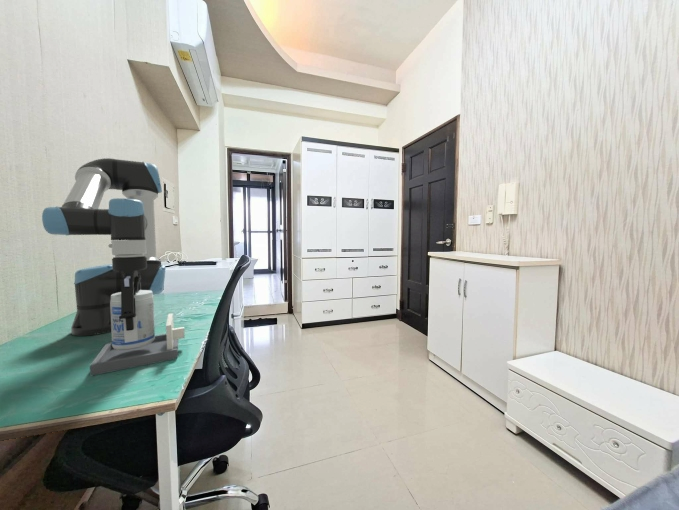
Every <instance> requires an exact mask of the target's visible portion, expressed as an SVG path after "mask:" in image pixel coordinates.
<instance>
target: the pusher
mask: <svg viewBox="0 0 679 510" xmlns="http://www.w3.org/2000/svg"><path fill="white" fill-rule="evenodd" d="M174 325H175V324H174V313H168V314H167V319H166V325H165V327H166V328H165V332H166V333H165V334H166V336H167V350H170V349H173V344H174V340H176V339H178V340H180V339H185V337H186V335H185V326H182V327H181V326H179V327H175V326H174Z"/></svg>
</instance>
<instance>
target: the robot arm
mask: <svg viewBox="0 0 679 510" xmlns="http://www.w3.org/2000/svg"><path fill="white" fill-rule="evenodd" d="M74 180H75V182H74V184H73V186H72V188H71V189H70V192H69V193H68V195H67V197H66V199H65V200H64V202H63V204H62V205H61V206H48V207H45V208H44V209H43V211H42V213H41V214H42V215H41V222H42V225H43V228H44V230H45V232H47V234H50V235H56V236H59V235H61V236H97V235H102V236H110V242H111V243H108V248H111V254H112V255H113V256H115V257H113V258H111V262H112V264H104V265H102V264H101V265H96V266H90V267H84V268H80V269H78V270H77V271H76V272H75V273H74V283H73V285H74V289H75V290H74V293H75V303H76V313H75V316H74V319H73V322H72V325H71V327H70V332H71V335H72V336H74V337H75V336H76V337H80V336H82V337H85V336H94V335H95V336H96V335H100V334H105V333H106V334H107V333H110V332H111V312H110V302H111V301H110V300H111V295H112V294H115V293H119V292H121V316H119V319H123V323H124V339H125V343H127V342H133V341H138V331H137V316H136V314H135V311H136V307H135V298H134V295H136V293H137V292H138V291H139V290H151V291H152V292H153V296H156V295H160V294H161V293H163V291H164V288H165V278H166V265H165V264H162V260H160V259H159V258H158V257H157V245H156V244H157V241H156V240H157V238H156V224H155V223H156V222H155V221H156V220H155V219H156V218H155V202H154V201H155V200H156V199H157V198H158V197H159V194H160V193H161V194H162V192H163V189H162V184H161V179H160V174H159V170H158V167H157V165H155V164H154V163H149V162H144V161H142V162H141V161H136V160H135V161H134V160H125V159H119V158H118V159H116V158H110V157H109V158H107V157H106V158H100V159H94V160H91V161H88V162H87V163H84V164H83V165H81V166H80V167H79V168H78V169H77V170H76V172H75V174H74ZM108 190H116V191H121V194H122V196H124V197H125V198H111V199H110V200H109V201H108V208H99V207H100V204H101V202H102V200H103V197H104V194H105V192H107V191H108ZM126 312H127V313H126Z"/></svg>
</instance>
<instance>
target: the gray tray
mask: <svg viewBox="0 0 679 510" xmlns="http://www.w3.org/2000/svg"><path fill="white" fill-rule="evenodd" d="M178 353H179V339H176V340H174V344H173V349H170V350H167V336H166V333H163V334H157V335H156V334H155V339H154V341H153V342H152V343H150V344H148V345H146V346H143V347H139V348H136V349H130V350H117V349H114V348H113V347H112V341H111V342H106V343H105V344H104V346H103V347H102V349H101V350H100V351H99V353H98V354H97V355H96V357H95V358H94V360H93V361H92V362H91V364H90V365H89V369H90V370H89V373H90V377H92V376H96V375H101V374H107V373H111V372H115V371H117V372H118V371H121V370H126V369H130V368H132V369H133V368H137V367H141V366H146V365H147V366H148V365H151V364H156V363H161V362H167V361H172V360H177V359H178V355H179V354H178Z"/></svg>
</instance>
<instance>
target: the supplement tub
mask: <svg viewBox="0 0 679 510" xmlns="http://www.w3.org/2000/svg"><path fill="white" fill-rule="evenodd" d="M134 298H135V307H136V311H135V314H136V316H137V331H138V341H133V342H127V343H125V339H124V323H123V319H119V316H121V292H119V293H115V294H112V295H111V300H110V301H111V302H110V312H111V331H110V332H111V342H112V347H113V348H114V349H117V350H130V349H136V348H139V347H143V346H146V345H148V344H150V343H152V342H153V341H154V339H155V335H156V333H155V310H154V308H155V307H154V305H155V303H154V295H153V292H152V291H151V290H139V291H138V292H137V293H136V295H134ZM126 313H127V312H126Z"/></svg>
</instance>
